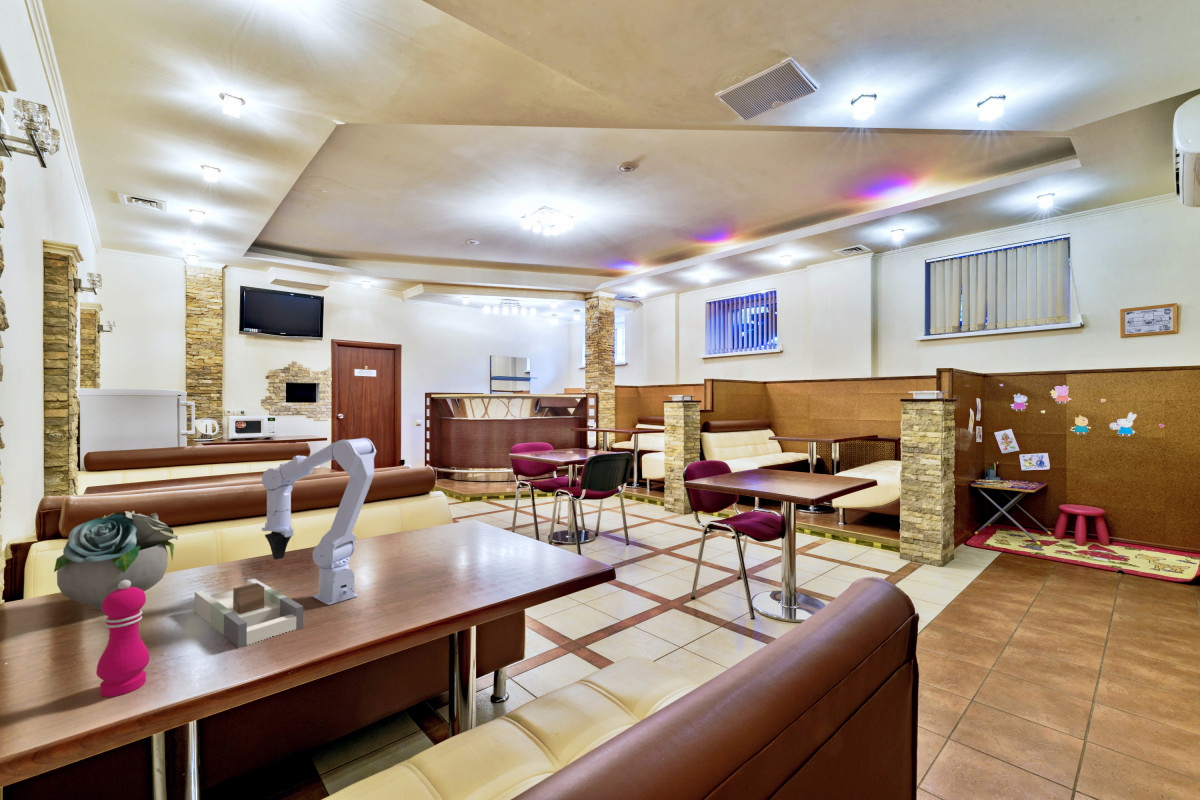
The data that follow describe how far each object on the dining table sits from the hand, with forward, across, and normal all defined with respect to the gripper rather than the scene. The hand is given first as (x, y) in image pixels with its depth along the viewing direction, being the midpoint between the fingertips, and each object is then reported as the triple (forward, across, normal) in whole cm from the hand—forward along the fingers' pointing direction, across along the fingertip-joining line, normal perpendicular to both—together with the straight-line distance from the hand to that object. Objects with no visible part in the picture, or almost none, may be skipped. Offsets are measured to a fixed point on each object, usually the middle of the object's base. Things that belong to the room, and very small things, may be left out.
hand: (278, 558), depth 142 cm
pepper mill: (+10, +31, -37) cm, 49 cm away
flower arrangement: (+10, -24, -30) cm, 40 cm away
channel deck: (+9, +14, -12) cm, 21 cm away
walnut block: (+6, +16, -12) cm, 21 cm away
